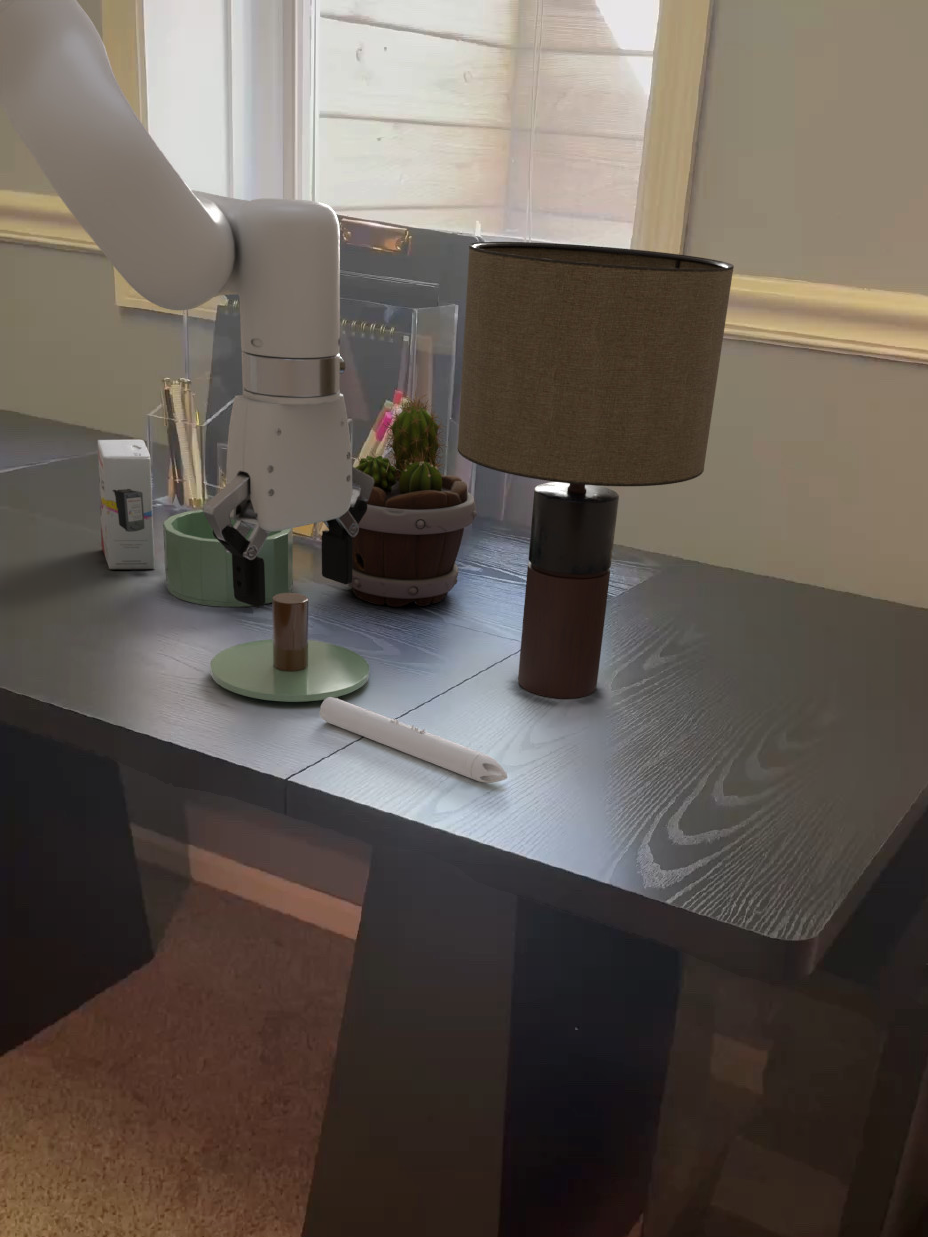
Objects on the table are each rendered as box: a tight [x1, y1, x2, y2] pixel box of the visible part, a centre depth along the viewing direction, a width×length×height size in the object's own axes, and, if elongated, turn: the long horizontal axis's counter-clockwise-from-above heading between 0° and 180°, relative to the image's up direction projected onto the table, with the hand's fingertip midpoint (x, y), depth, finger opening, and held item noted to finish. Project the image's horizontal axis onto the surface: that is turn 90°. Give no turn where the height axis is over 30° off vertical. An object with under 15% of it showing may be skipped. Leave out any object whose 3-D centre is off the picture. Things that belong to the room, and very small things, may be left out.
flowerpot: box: [348, 387, 478, 608], centre depth 131 cm, size 14×15×20 cm
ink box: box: [97, 438, 156, 570], centre depth 137 cm, size 9×5×12 cm, turn 19°
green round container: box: [162, 509, 294, 608], centre depth 132 cm, size 13×13×6 cm
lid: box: [209, 592, 371, 703], centre depth 111 cm, size 14×14×7 cm
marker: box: [319, 697, 509, 784], centre depth 100 cm, size 18×2×2 cm, turn 53°
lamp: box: [457, 241, 735, 699], centre depth 107 cm, size 20×20×35 cm
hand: (294, 591), depth 109 cm, fingers open, 9 cm apart
